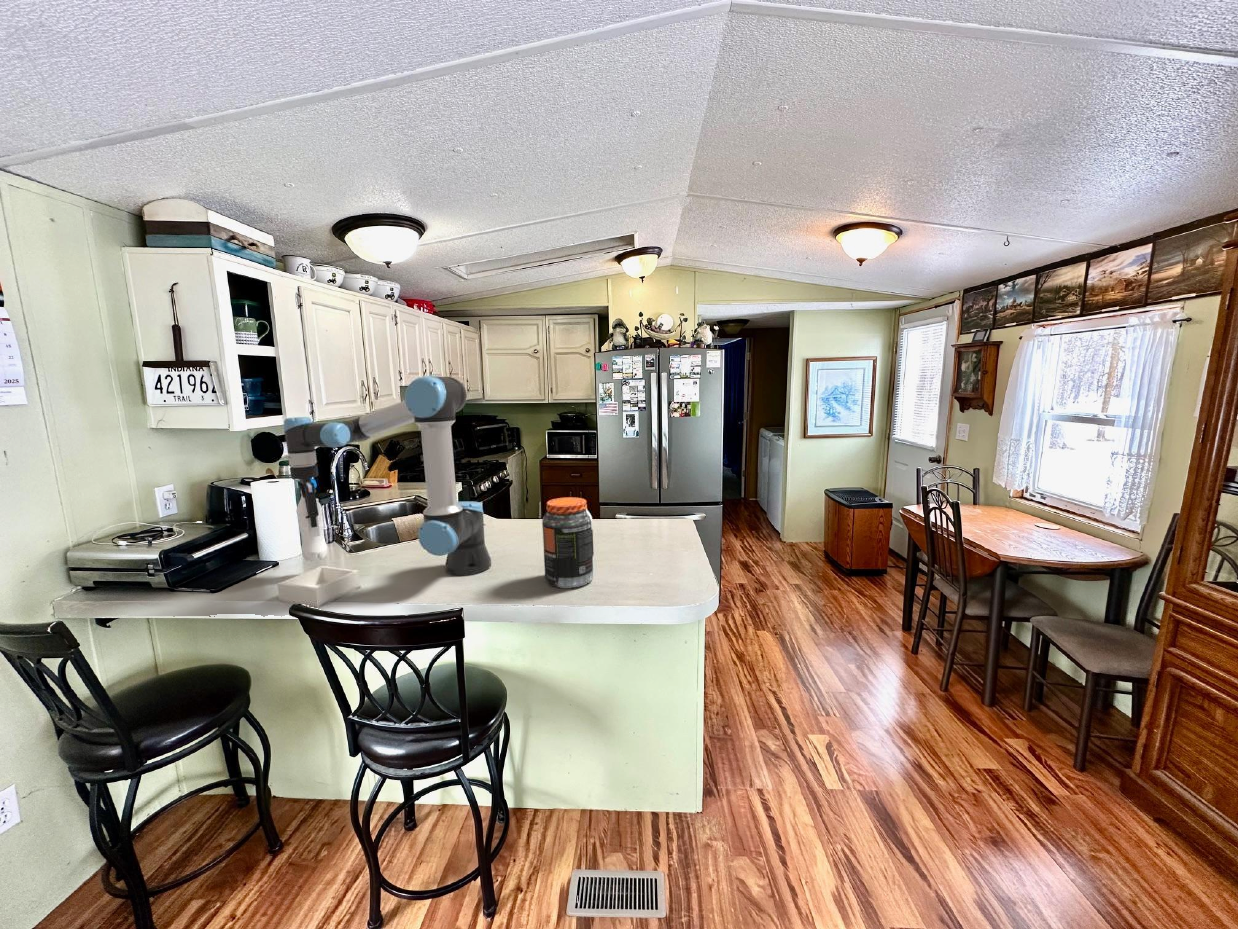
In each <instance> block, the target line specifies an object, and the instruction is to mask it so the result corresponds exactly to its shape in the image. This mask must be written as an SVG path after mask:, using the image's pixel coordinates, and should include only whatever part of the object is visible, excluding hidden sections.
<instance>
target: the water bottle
mask: <svg viewBox="0 0 1238 929" xmlns="http://www.w3.org/2000/svg"><path fill="white" fill-rule="evenodd" d="M301 494H302V492H301ZM316 502H317V509H318V513H319V515H318V516H317V517H318V524H319V532H320V536H316V537H311V538H310V534H309V526H308V519H307V518H306V516H308V513H307V508H306V503H305V498H303V497H302V496H301V500H300V499H299V501H298V504H297V507H296V512H295V513H296V514H297V521H298V529H299V531H300V537H301V544H302V545H301V555H302V557H303V559H304V560H305V561H307V562H308V561H309V562H316V560H317V558H318V559H319V560H323V559H325V558H326V557H327V556H326V555H327V554H328V553H327V552H328V545H327V542H326V540H325V534H324V533H325V532H324V530H325V529H324V525H325V523H324V517H323V516H324V515H323V507H322V504H321V503H320V502H319V500H318V499H317V498H316ZM312 513H314V512H312Z"/></svg>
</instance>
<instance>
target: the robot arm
mask: <svg viewBox="0 0 1238 929" xmlns="http://www.w3.org/2000/svg"><path fill="white" fill-rule="evenodd" d="M467 396H468V394H467V389H466V386H464V385H463V383H462V382H461V381H460V380H458V379H457V378H454V377H451V376H435V375H434V376H433V375H431V376H430V375H427V376H422V377H421V376H420V377H418V378H415V379H414V380H413V381H411V382H410V384H408V385H407V386H406V390H405V394H404V400H402V401H400V402H395V403H394V404H392V405H389V406H386V407H383V408H380V409H378V410H375V411H372V412H369V413H366V414H364V415H361V416H359V417H356V418H353V419H350V420H349V419H348V420H342V421H332V422H319V423H313V422H312V418H311V417H310V416H299V417H298V416H297V417H295V416H294V417H287V418H285V419H284V421H283V432H284V438H285V443H286V449H287V455H288V456H286V460H288V464H289V466H290V468H289V473H290V478H291V479H293V480H298V481H297V487H298V492H299V501H300V500H301V496H302V497H303V498H305V503H306V508H307V513H308V516H306V518H307V519H308V526H309V534H310V538H311V537H316V536H320V532H319V524H318V517H317V516H318V515H319V513H318V509H317V502H316V499H317V496H316V486H315V483H314V482H313V481H312V479H311V478H315V477H318V476H319V470H318V465H317V463H318V460H317V452H316V448H318V447H319V448H320V447H321V448H326V447H327V448H338V447H344V446H346V445H347V444H352V443H360V442H364V441H367V440H370V439H371V438H372V437H375V436H378V435H380V434H383V433H386V432H389V431H392V430H395V429H397V428H400V427H404V426H406V425H409V424H411V423H414V424H415V425H416V426H418V427H419V429H420V433H421V434H420V435H421V446H422V454H423V455H422V456H423V457H422V458H423V466H424V467H423V468H424V477H425V489H426V499H427V507H425V509H424V510H423V512H422V515H423V522H422V524H421V526H420V527H419V529H418V532H417V538H418V542H419V544H420V546H421V548H422V549H423V550H425V551H426V552H427V553H429V554H431V555H433V556H437V557H438V556H439V557H440V556H446V555H447V556H446V559H445V560H446V561H445V564H444V567H445V572H446V573H447V574H449V573H450V574H449V575H453V576H471V575H470V574H472V575H474V574H473V573H477V574H479V572H480V573H483V572H485V571H484V570H486V571H487V570H489V569H490V568H491V567H492V558H491V556H490V555H489V554H490V553H489V551H488V549H487V546H486V542H485V541H486V540H485V526H484V525H485V524H484V509H483V505H482V503H480V502H478V501H468V500H467V501H458V499H457V498H458V497H457V486H456V475H455V461H454V460H455V459H454V448H453V436H452V425H453V424H454V423H455V422H456V413H457V412H459V411H460V410H462V409H463V408H464V407H465V405H466V402H467V398H468V397H467ZM301 492H302V494H301ZM312 512H314V513H312ZM489 567H490V568H489ZM482 571H483V572H482Z"/></svg>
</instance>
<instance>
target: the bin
mask: <svg viewBox="0 0 1238 929" xmlns="http://www.w3.org/2000/svg"><path fill="white" fill-rule="evenodd" d="M360 588H361V579H360V571H359V570H356V569H349V568H340V567H335V566H334V567H333V566H327V565H321V566H318V567H316V568H314V569H311V570H309V571H306V572H303V573H301V574H298V575H295V576H292V577H291V578H288V579H286V580H283V581H281V582H278V583H277V590H278V598H279V602H280V603H281V602H283V603H288V604H293V605H298V604H305V605H309V606H308V607H310V606H313V607H312V608H316V607H317V609H319V608H321V607H323V606H325V605H327V604H329V603H332V602H334V601H335V600H338V599H339V598H341V597H344V596H347V595H349V594H350V593H352V592H354V591H357V590H359V589H360Z"/></svg>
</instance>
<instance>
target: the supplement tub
mask: <svg viewBox="0 0 1238 929" xmlns="http://www.w3.org/2000/svg"><path fill="white" fill-rule="evenodd" d="M545 508H546V512H545V514H544V515H543V517H542V521H541V524H542V525H541V526H542V542H543V543H542V544H543V557H544V558H543V559H544V560H543V561H544V578H545V581H546V582H547V584H548V585H550V584H551V585H550V586H552V587H555V586H556V587H555V588H559V587H560V589H572V587H573V588H577V587H582V586H585V585H587V583H588V584H590V583H591V582H592V581H593V580H594V577H595V558H594V555H595V554H594V553H595V552H594V528H593V527H594V526H593V524H594V523H593V516H592V514H591V512H590V511H589V510H588V504H587V500H586V499H585V498H582V497H573V496H572V497H571V496H570V497H569V496H568V497H566V496H565V497H559V498H557V497H556V498H553V499H550V500H548V501H547V502H546V507H545Z"/></svg>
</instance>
